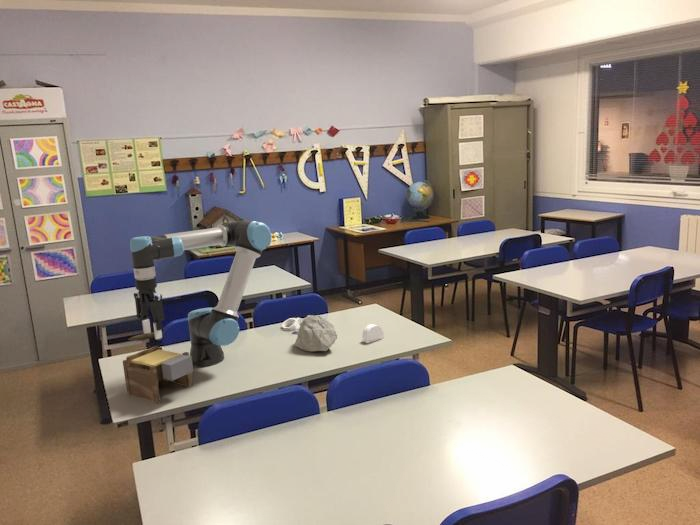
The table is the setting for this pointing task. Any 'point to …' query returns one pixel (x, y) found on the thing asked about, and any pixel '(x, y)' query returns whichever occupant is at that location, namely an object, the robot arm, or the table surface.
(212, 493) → the table surface
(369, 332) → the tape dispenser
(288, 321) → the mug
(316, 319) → the grey boulder
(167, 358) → the trapdoor
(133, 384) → the wooden box
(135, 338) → the stone
